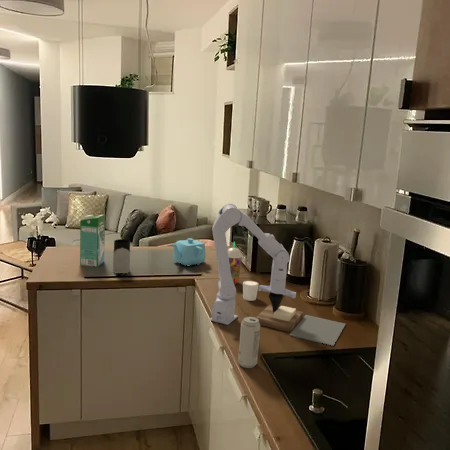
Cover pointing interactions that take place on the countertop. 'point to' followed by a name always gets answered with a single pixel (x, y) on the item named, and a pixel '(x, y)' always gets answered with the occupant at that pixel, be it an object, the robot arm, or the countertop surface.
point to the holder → (121, 256)
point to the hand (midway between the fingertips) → (275, 311)
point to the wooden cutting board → (278, 320)
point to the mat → (318, 330)
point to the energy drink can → (249, 342)
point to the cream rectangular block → (284, 313)
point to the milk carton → (92, 240)
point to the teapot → (189, 252)
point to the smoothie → (234, 262)
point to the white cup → (250, 290)
